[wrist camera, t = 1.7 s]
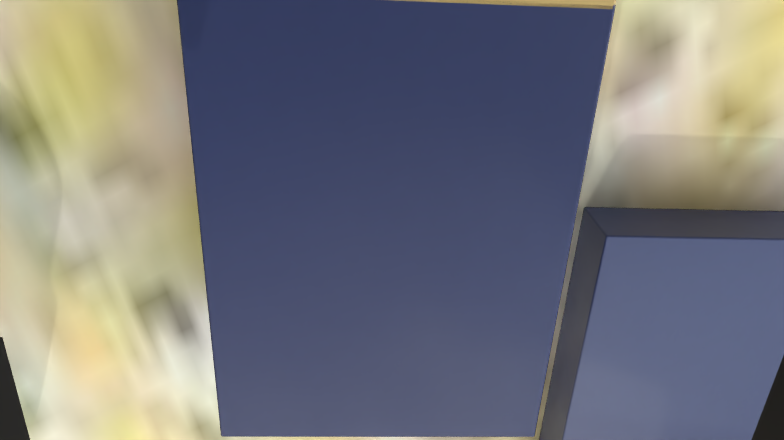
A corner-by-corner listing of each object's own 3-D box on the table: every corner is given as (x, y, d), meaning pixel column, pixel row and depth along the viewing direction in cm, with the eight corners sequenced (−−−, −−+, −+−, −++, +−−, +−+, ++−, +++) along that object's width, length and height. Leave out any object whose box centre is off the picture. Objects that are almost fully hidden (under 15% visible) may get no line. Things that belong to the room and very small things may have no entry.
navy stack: (553, 174, 23) (599, 235, 19) (786, 180, 24) (885, 241, 19) (512, 421, 28) (540, 515, 24) (703, 421, 29) (766, 514, 24)
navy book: (207, -45, 15) (172, -37, 12) (575, -29, 15) (621, -18, 13) (239, 368, 20) (220, 437, 18) (512, 370, 21) (534, 437, 18)
